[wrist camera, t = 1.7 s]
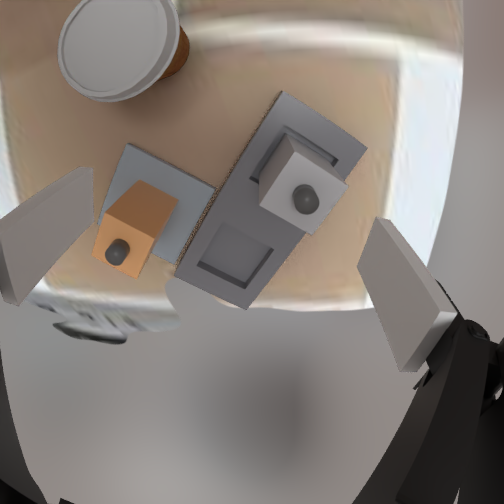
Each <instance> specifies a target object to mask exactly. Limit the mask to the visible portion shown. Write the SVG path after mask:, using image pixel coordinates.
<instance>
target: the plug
mask: <svg viewBox="0 0 504 504" xmlns="http://www.w3.org/2000/svg"><path fill="white" fill-rule="evenodd" d="M177 202H178V199H176V198H175V197H173V196H171V195H169V194H167V193H165V192H163V191H161V190H159V189H157V188H155V187H153V186H151V185H150V184H148V183H146V182H144V181H142V180H140V179H139V180H138V181H137V182H136V183H135V184H134V185H133V186H131V187H130V188H129V189H128V190H127V191H126V192H125V193H124V194H123V195H122V196H121V197H120V198H119V199H118V200H117V201H116V202H115V203H114V204H113V205H112V206H111V207H110V208H109V209H108V210H107V211H106V212H105V213H104V216H103V219H102V222H101V225H100V228H99V231H98V235H97V238H96V241H95V244H94V248H93V251H92V256H93V257H95V258H97V259H99V260H101V261H103V262H104V263H106V264H108V265H110V266H112V267H114V268H116V269H117V270H119V271H121V272H123V273H125V274H127V275H129V276H131V277H133V278H135V279H137V278H138V276H139V274H140V272H141V270H142V269H143V267H144V265H145V263H146V261H147V259H148V258H149V256H150V254H151V252H152V250H153V249H154V247H155V245H156V243H157V241H158V240H159V238H160V236H161V234H162V232H163V230H164V228H165V226H166V224H167V222H168V220H169V218H170V216H171V214H172V212H173V210H174V208H175V206H176V204H177Z"/></svg>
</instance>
